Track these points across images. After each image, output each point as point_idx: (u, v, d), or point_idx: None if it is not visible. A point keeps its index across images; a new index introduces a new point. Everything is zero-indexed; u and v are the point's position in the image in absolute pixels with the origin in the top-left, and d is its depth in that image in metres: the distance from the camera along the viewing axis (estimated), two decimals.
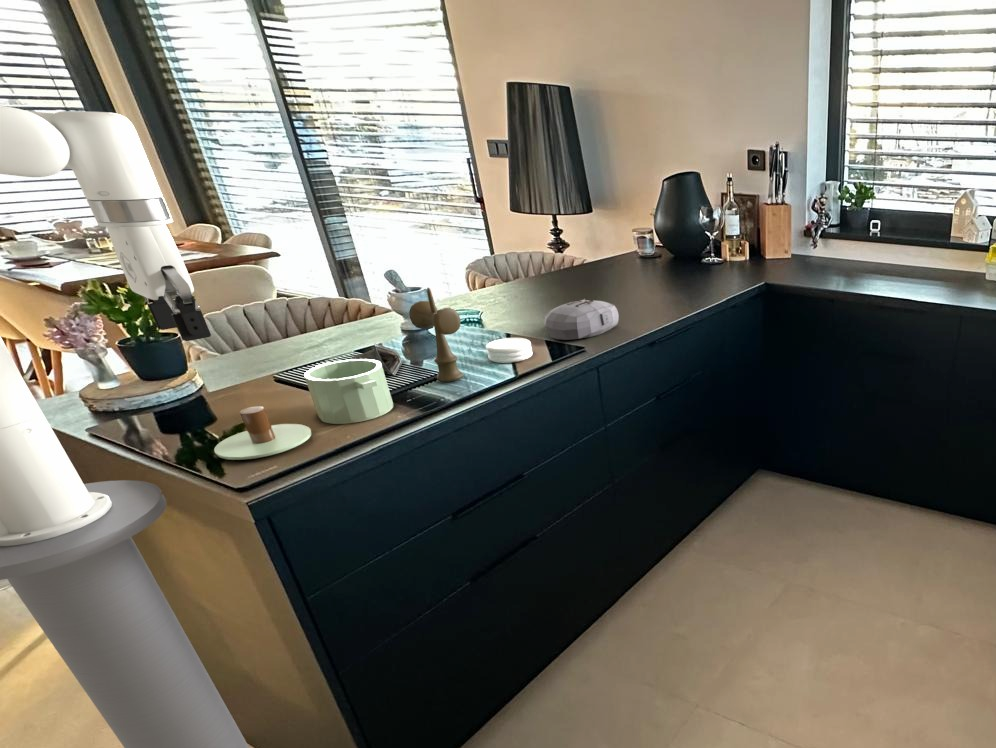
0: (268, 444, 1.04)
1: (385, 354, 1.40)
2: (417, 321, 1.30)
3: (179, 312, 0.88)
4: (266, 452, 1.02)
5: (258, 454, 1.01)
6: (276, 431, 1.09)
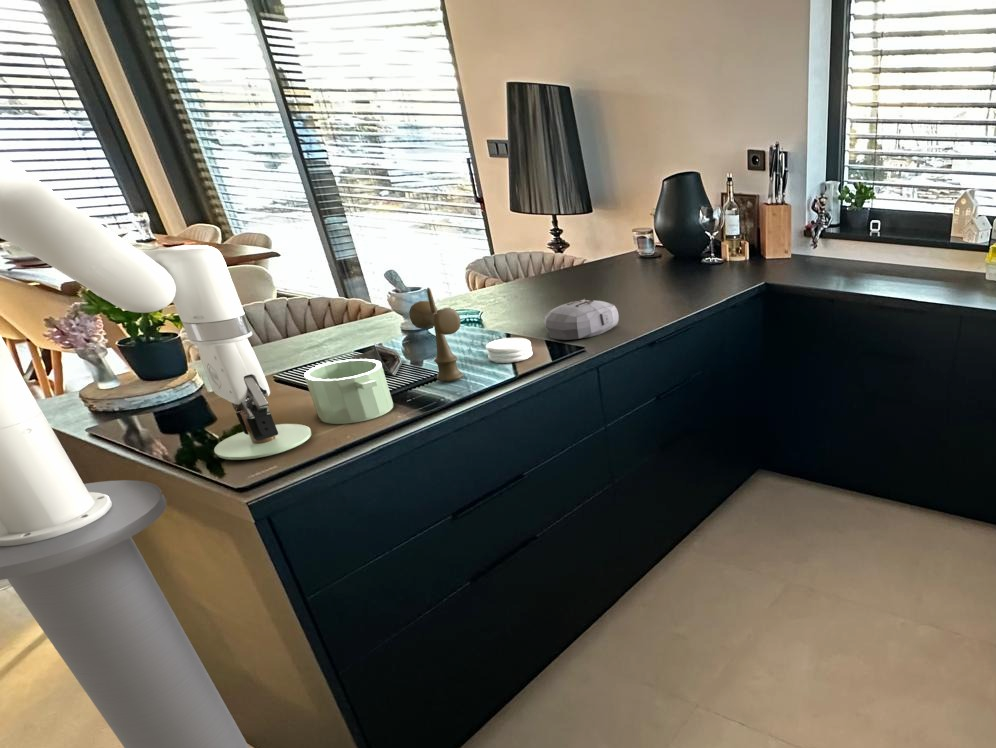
0: (268, 444, 1.04)
1: (385, 354, 1.40)
2: (417, 321, 1.30)
3: (253, 417, 1.02)
4: (266, 452, 1.02)
5: (258, 454, 1.01)
6: None
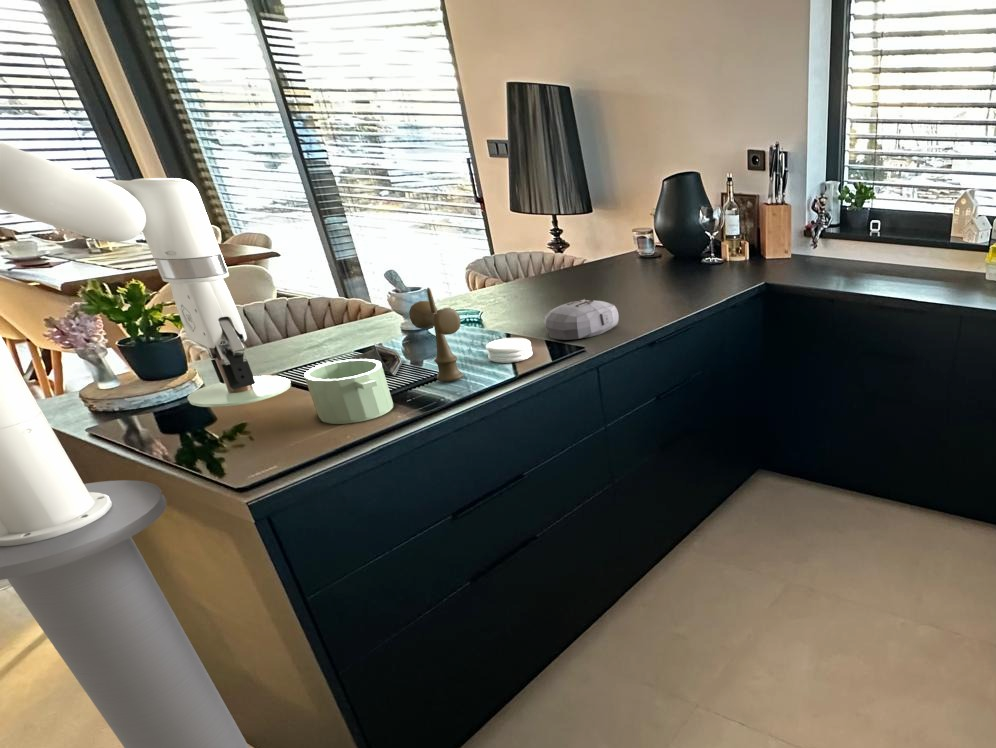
0: (244, 393, 1.00)
1: (385, 354, 1.40)
2: (417, 321, 1.30)
3: (229, 363, 0.97)
4: (242, 400, 0.98)
5: (233, 402, 0.97)
6: None
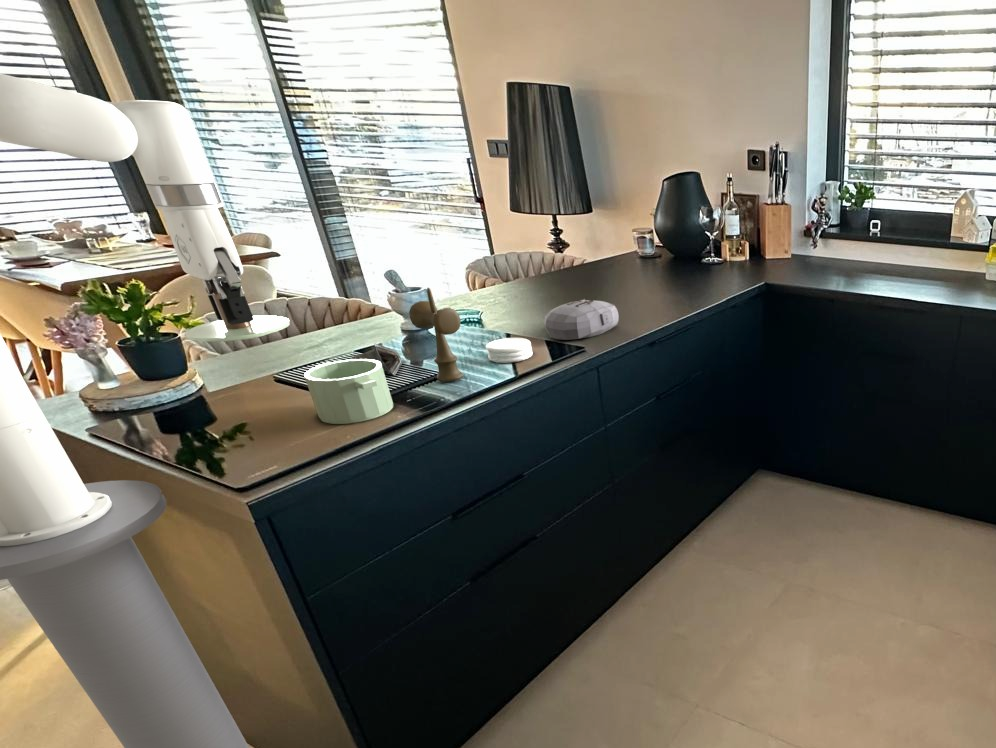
0: (242, 330, 0.98)
1: (385, 354, 1.40)
2: (417, 321, 1.30)
3: (226, 297, 0.95)
4: (240, 335, 0.96)
5: (231, 336, 0.95)
6: None
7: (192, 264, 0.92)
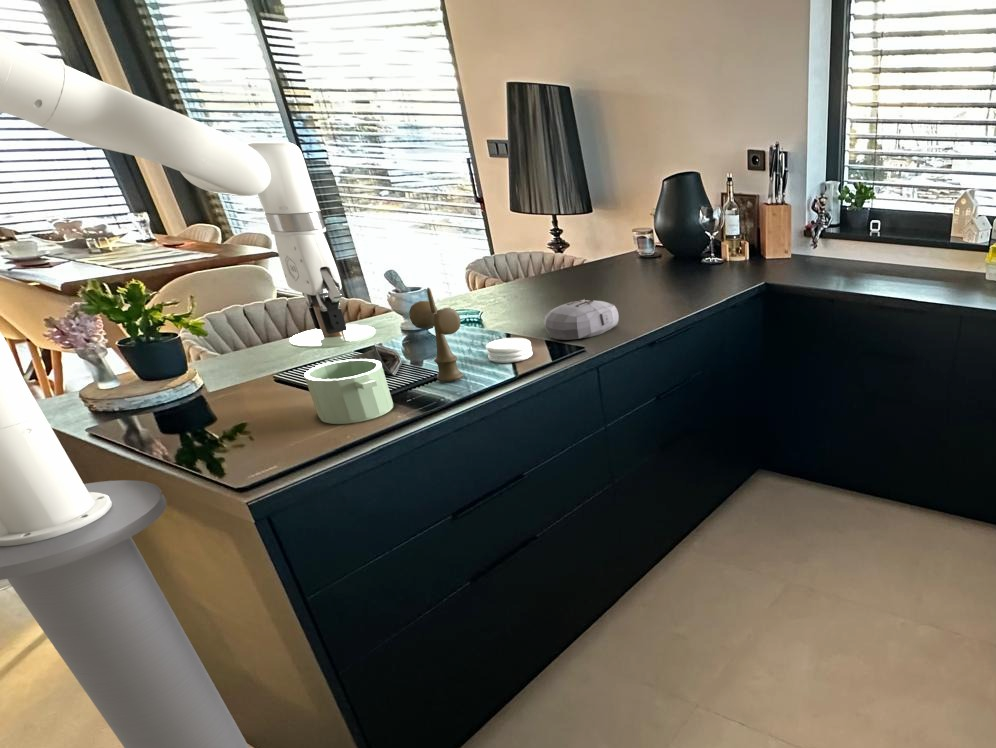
0: (338, 338, 1.12)
1: (385, 354, 1.40)
2: (417, 321, 1.30)
3: (326, 310, 1.09)
4: (338, 343, 1.09)
5: (331, 344, 1.09)
6: None
7: (300, 281, 1.06)
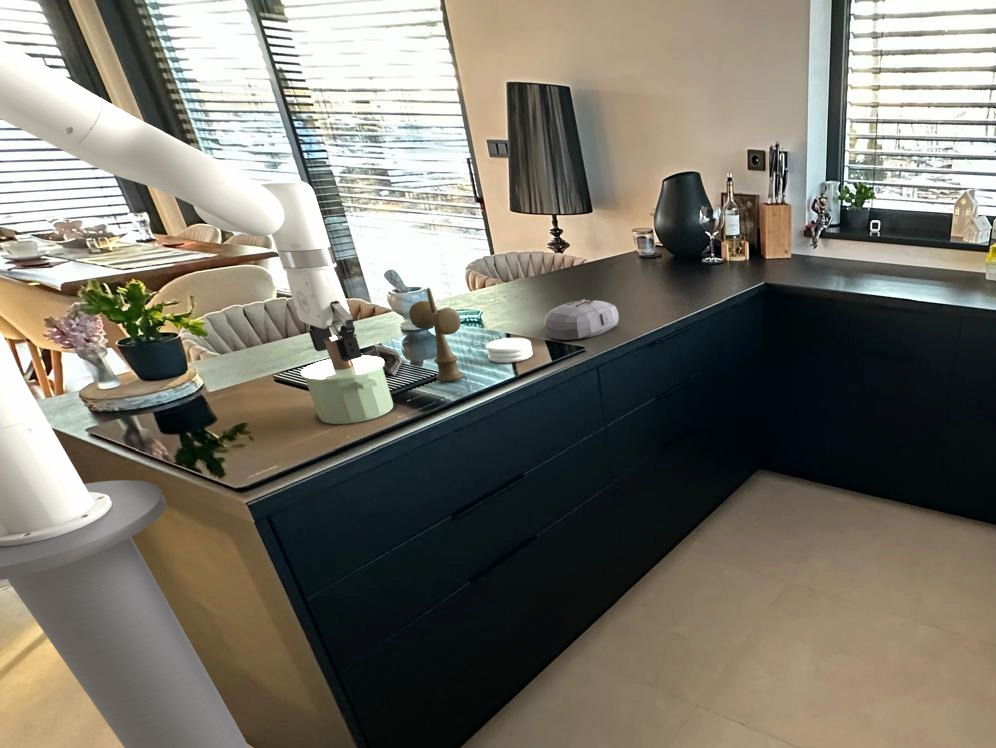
0: (348, 370, 1.14)
1: (385, 354, 1.40)
2: (417, 321, 1.30)
3: (342, 338, 1.09)
4: (348, 375, 1.12)
5: (342, 377, 1.11)
6: (352, 360, 1.19)
7: (310, 315, 1.08)
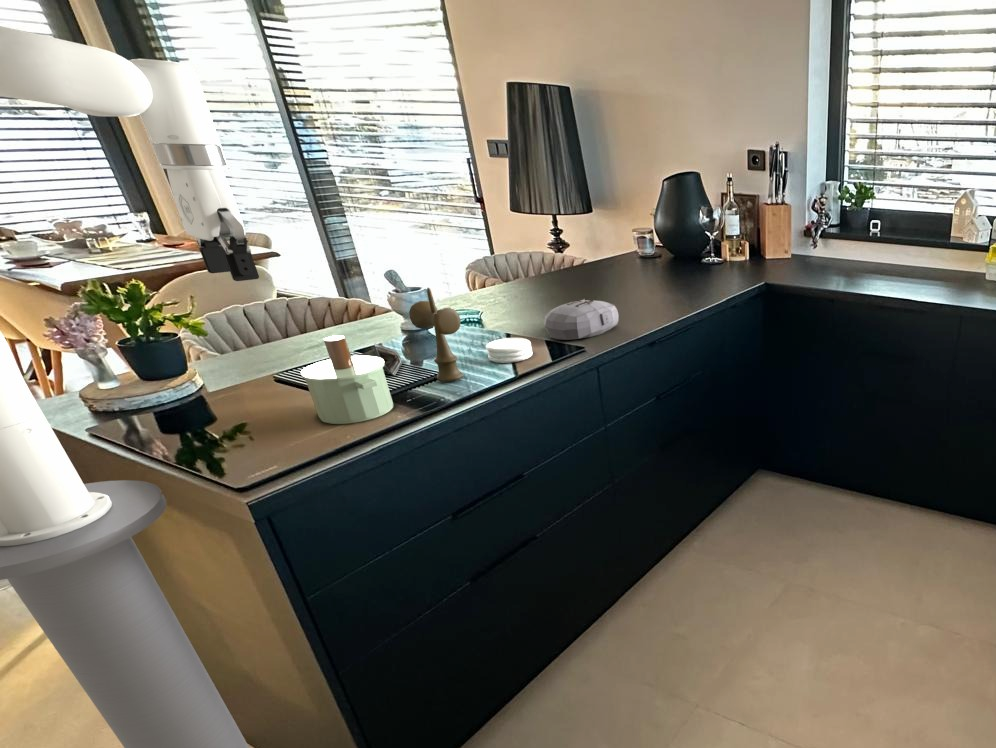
0: (348, 370, 1.14)
1: (385, 354, 1.40)
2: (417, 321, 1.30)
3: (232, 252, 0.94)
4: (348, 375, 1.12)
5: (342, 377, 1.11)
6: (352, 360, 1.19)
7: (195, 224, 0.93)
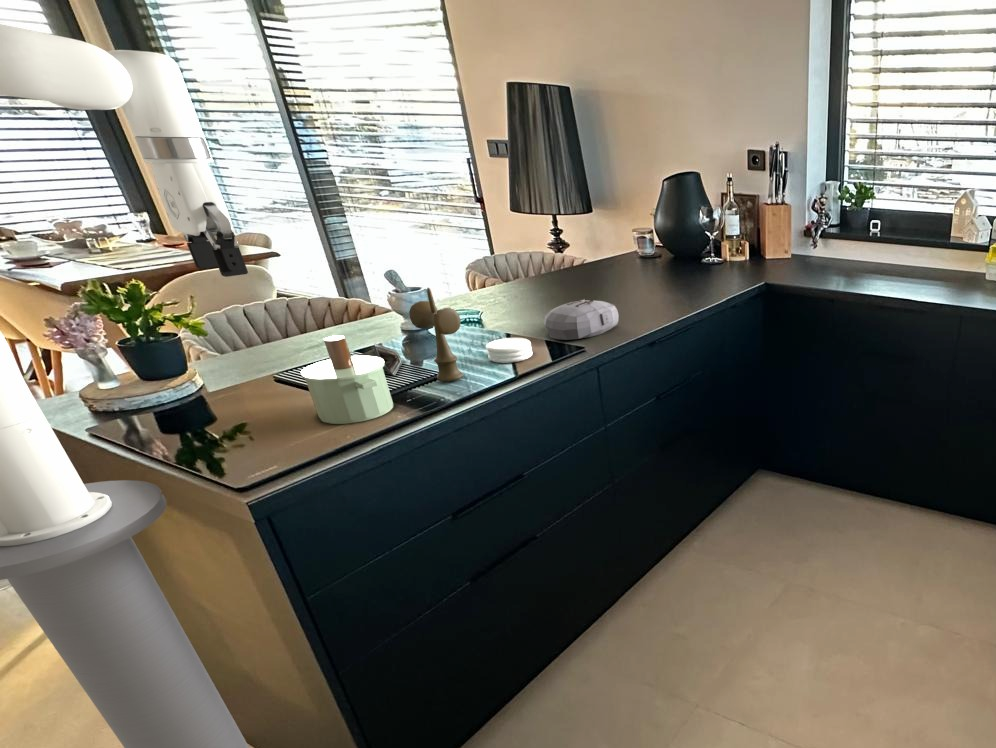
0: (348, 370, 1.14)
1: (385, 354, 1.40)
2: (417, 321, 1.30)
3: (219, 247, 0.93)
4: (348, 375, 1.12)
5: (342, 377, 1.11)
6: (352, 360, 1.19)
7: (181, 219, 0.92)
